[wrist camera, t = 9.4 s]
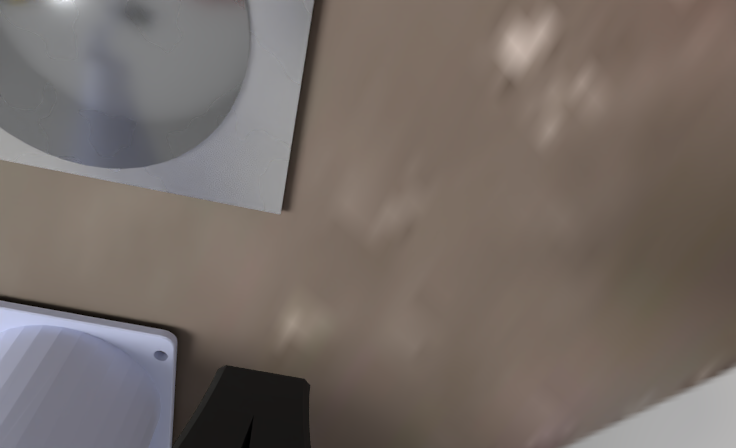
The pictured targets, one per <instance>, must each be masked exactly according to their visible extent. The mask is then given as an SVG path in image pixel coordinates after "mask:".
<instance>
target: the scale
mask: <svg viewBox="0 0 736 448" xmlns="http://www.w3.org/2000/svg"><path fill="white" fill-rule="evenodd" d="M314 1H315V0H0V160H5V161H11V162H16V163H21V164H26V165H31V166H36V167H41V168H46V169H51V170H56V171H61V172H67V173H72V174H77V175H82V176H87V177H92V178H97V179H102V180H107V181H112V182H117V183H123V184H128V185H133V186H138V187H143V188H148V189H153V190H158V191H163V192H168V193H174V194H179V195H184V196H189V197H194V198H199V199H204V200H209V201H214V202H219V203H224V204H230V205H235V206H240V207H245V208H250V209H255V210H260V211H265V212H270V213H275V214H281V210H282V204H283V198H284V192H285V185H286V179H287V173H288V166H289V160H290V153H291V147H292V141H293V134H294V128H295V122H296V115H297V109H298V103H299V96H300V90H301V84H302V77H303V71H304V65H305V58H306V52H307V46H308V39H309V33H310V27H311V20H312V14H313V8H314Z"/></svg>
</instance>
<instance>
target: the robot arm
mask: <svg viewBox="0 0 736 448" xmlns="http://www.w3.org/2000/svg"><path fill="white" fill-rule="evenodd" d="M160 351H163V352H165V353H162V352H160ZM176 360H177V338H176V337H175V335H174V334H172V333H171V332H169V331H167V330H163V329H157V328H151V327H146V326H140V325H135V324H129V323H123V322H118V321H112V320H107V319H101V318H96V317H90V316H84V315H79V314H73V313H68V312H62V311H57V310H51V309H45V308H40V307H34V306H29V305H23V304H18V303H12V302H6V301H1V300H0V448H311V445H310V432H309V391H310V385H309V384H308V382H307V381H306V380H305V379H302V378H296V377H291V376H285V375H279V374H273V373H267V372H262V371H256V370H250V369H244V368H239V367H233V366H227V365H226V366H224V367H222V368H220V369H218V371H217V373H216V375H215V377H214V379H213V381H212V383H211V385H210V387H209V389H208V390H207V392H206V394H205V396H204V398H203V399H202V401H201V403H200V404H199V406H198V408H197V409H196V411H195V413H194V414H193V416H192V418H191V419H190V421H189V422H188V424H187V425H186V427H185V428H184V430H183V431H182V433H181V435H180V436H179V438H178V439H177V441H176V442H175V444H174V445H173V446H172V433H173V415H174V396H175V378H176Z"/></svg>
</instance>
